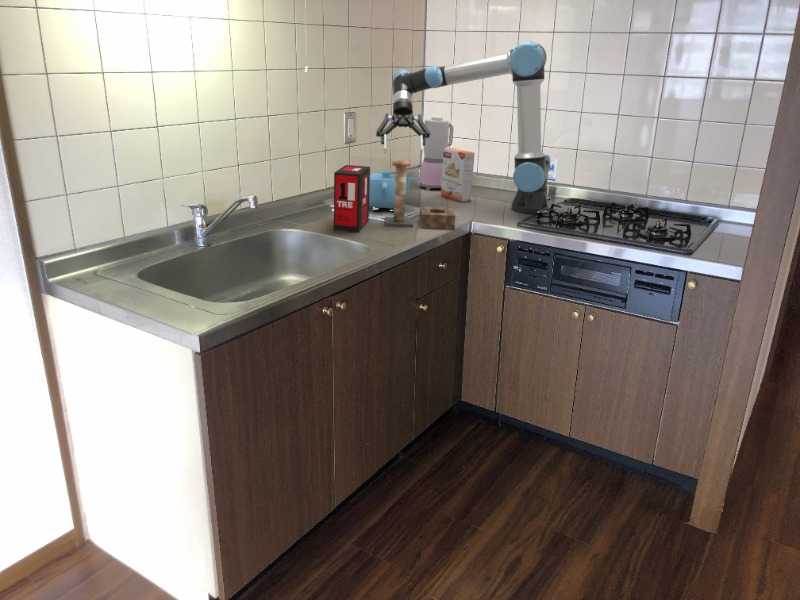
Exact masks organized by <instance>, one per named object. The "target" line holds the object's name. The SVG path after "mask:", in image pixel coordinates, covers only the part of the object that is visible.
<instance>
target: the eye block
mask: <svg viewBox="0 0 800 600" xmlns="http://www.w3.org/2000/svg"><path fill="white" fill-rule="evenodd" d="M419 224H420V228H421V229H436V230H438V229H439V230H455V229H456V228H455V224H456V214H455V212H454V209H453V208H452V207H438V206H437V207H435V206H434V207H431V206H420V207H419Z"/></svg>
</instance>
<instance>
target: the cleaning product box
mask: <svg viewBox="0 0 800 600" xmlns="http://www.w3.org/2000/svg"><path fill="white" fill-rule="evenodd" d="M333 173H334V174H333V231H336V232H337V231H338V232H349V233H350V232H351V233H352V232H353V233H360V232H361V230H362V229H363V228H364V227H365V226H366V224H368V222H369V221H370V220H369V219H370V216H369V215H370V213H369V211H370V207H369V189H370V177H371V167H370V166H368V165H367V166H364V165H353V164H351V165H350V164H345V165H343V166H342V167H340V168H338V170H336V171H333Z"/></svg>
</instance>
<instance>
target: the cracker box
mask: <svg viewBox="0 0 800 600" xmlns="http://www.w3.org/2000/svg"><path fill="white" fill-rule="evenodd" d="M475 154H476V153H475V152H473V151H469V150H465V149H460V148H456V147H455V148H454V147H447V148H445V149H444V154H443V170H442V185H441V188H440V196H441V197H445V198H447V199H450V200H454V201H457V202H459V203H464V202H469V201H470V202H471V199H472V187H473V177H474V163H475Z"/></svg>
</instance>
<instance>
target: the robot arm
mask: <svg viewBox="0 0 800 600" xmlns="http://www.w3.org/2000/svg"><path fill="white" fill-rule="evenodd" d="M547 56H548V55H547V53H546V50H545V48H544V46H542V45H541V44H540V43H538V42H535V41H531V40H529V41H528V40H527V41H523V42H521V43H518V44H517V45H516V46H515V47H514V48H513V49H512V48H511V49H509V50H508V51H507V53H502V54H498V55H492V56H487V57H483V58H482V57H481V58H477V59H473V60H469V61H468V60H467V61H462V62H458V63H455V64H453V63H452V64H449V65H444V66H438V65H433V66H428V67H425V68H423V69H420V70H417V71H414V72H410V71H409V70H407V69H399V70H397V71H396V72H395V73H393V78H392V79H393V80H392V94H393V95H392V115H389V113H385V115H384V118H383V120H382V122H381V123H380V124H379V126H378V128H377V130H376V132H375V133H376V134H375V135H376V137H380V144H381V145H383V153H384V154H386V153H387V136H388V135H389V134H390V133H391V132H392V131H393V130H394V129H396V128H407V127H408V128H410V129H411V130H412V131H414V133H416V134H417V136H419V152H420V153H419V154H420V155H423V153H424V147H423V145H425V143H426V139H425V138H429V137H430V131H429V130H428V128H427V127H426V125H425V121H423V119H422V115H421V114H417V115H413V113H414V110H413V107H414V106H413V94H417V93H419V92H423V91H425V90H426V91H427V90H429V89H439V88H441V87H446V86H450V85H451V86H452V85H457V84H461V83H462V84H463V83H467V82H468V83H469V82H472V81H478V80H483V79H488V78H493V77H500V76H503V75H504V76H505V75H509V74H510V75H511V76H512V78H511V79H512V83H513V84H514V85H515V86H516V103H517V105H516V106H517V108H516V109H517V111H516V113H517V114H516V115H517V144H518V145H517V148H518V149H517V150H518V151H517V152H516V154H515V155H514V171H513V175H512V179H513V183H514V185H515V186H516V188H517V191H516V192H515V195H514V197H513V199H512V201H511V206H510V209H511V210H512V211H514V212H517V213H522V214H529V215H537V214H536V213H537V212H538V211H540V210H544V209H548V210H549V203H548V197H547V186H548V179H549V172H550V171H549V170H550V164H551V157H550V155H548V154H545V153H544V152H543V151H542V122H541V121H542V118H541V117H542V115H541V114H542V113H541V112H542V111H541V105H542V103H541V101H542V100H541V84H542V83H544V81H545V65H546V63H547ZM391 120H392V122H391V123H389V122H390V121H391ZM414 121H415V122H416V123H417V124H416V123H415V122H414ZM388 123H389V124H388ZM387 125H388V126H387Z"/></svg>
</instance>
